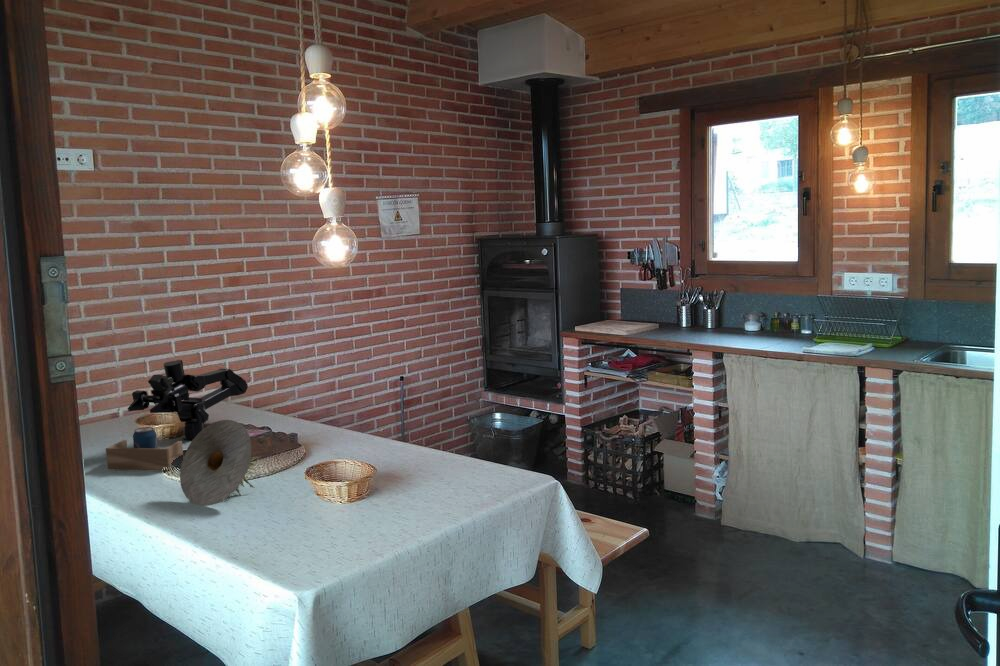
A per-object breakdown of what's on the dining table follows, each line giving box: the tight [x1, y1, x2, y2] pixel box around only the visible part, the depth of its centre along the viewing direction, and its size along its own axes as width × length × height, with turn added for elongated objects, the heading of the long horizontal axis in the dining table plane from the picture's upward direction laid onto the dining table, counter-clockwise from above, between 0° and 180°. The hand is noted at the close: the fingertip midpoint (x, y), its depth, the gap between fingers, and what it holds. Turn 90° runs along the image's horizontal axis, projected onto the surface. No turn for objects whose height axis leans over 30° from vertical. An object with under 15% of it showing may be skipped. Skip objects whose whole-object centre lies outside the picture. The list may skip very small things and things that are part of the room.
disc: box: [179, 419, 266, 507], centre depth 232 cm, size 25×18×25 cm
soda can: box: [132, 426, 158, 448], centre depth 259 cm, size 7×7×12 cm
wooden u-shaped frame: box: [105, 439, 184, 472], centre depth 259 cm, size 9×21×7 cm, turn 82°
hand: (139, 410), depth 265 cm, fingers open, 9 cm apart
